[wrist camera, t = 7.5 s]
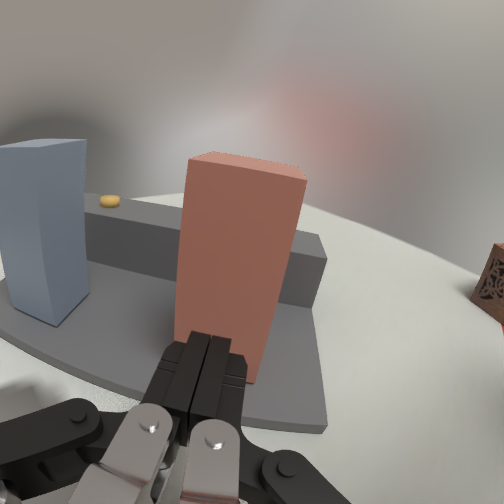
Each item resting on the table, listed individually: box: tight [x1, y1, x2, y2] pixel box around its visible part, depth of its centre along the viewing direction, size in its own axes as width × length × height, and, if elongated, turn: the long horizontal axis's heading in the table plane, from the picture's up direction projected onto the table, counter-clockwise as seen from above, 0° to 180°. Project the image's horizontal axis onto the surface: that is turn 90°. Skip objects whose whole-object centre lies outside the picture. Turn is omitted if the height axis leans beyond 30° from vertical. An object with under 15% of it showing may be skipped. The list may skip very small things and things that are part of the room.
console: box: [0, 192, 328, 434], centre depth 22 cm, size 28×19×7 cm
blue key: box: [0, 139, 90, 327], centre depth 16 cm, size 5×5×12 cm
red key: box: [174, 152, 307, 383], centre depth 16 cm, size 5×5×12 cm
